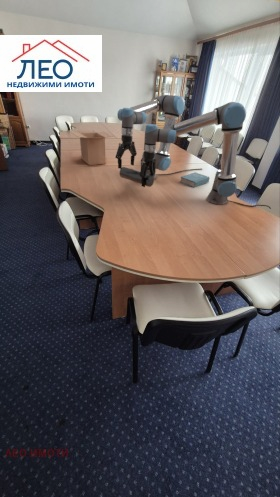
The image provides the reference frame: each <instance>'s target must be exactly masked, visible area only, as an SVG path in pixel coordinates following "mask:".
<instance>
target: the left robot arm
mask: <svg viewBox="0 0 280 497" xmlns="http://www.w3.org/2000/svg"><path fill="white" fill-rule="evenodd" d="M185 107H186V105H185V99H184V98H183V97H182V96H179V95H172V94H162V95H159V96H156V97H153V98H151V99H150V100H149V101H146V102H143V103H140V104H137V105H134V106H131V107H123V108H120V109H118V111H117V119H118V120H119V121H121V143H120V142H119V143H118V147H117V151H116V153H115V159H117V168H118V169H119V170H120V169H122V167H123V165H122V164H123V163H122V162H123V158H122V157H123V156H124V154H125V152H126V151H128V152H129V153H130V165H131V166H135V158H136V157H137V154H138V153H137V149H136V145H135V141H133V132H134V129H133V128H134V125H144V124H145V123H146V122H147V119H148V118H147V115H148V114H153V113H154V114H155V113H164V117H165V118H164V124H163V128H164V127H166V126H170V125H174V124H176V123H177V120H178V119H179V118H180V115H183V113H184V111H185ZM171 144H172V143H170V144H169V143H162V142H159V146H158V150H155V151H154V152H155V158H153V159H156V170H158V171H161V172H165V171H166V170H168V169H169V168H170V166H171V163H172V160H171V159H172V158H171V157H170V148H171ZM141 159H142V162H144V159H145V158H144V151H143V152H142V157H141ZM145 166H146V165H145ZM194 170H195V171H200V170H201V168H192V169H184V170H179V171H175V172H172V173H158V174H157V173H155V175H153V176H154V180H156V178H157V176H169V175H174V174H177V173H182V172H187V171H194ZM146 174H150V169H149V168H148V169H147V172H146Z"/></svg>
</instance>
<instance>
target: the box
mask: <svg viewBox="0 0 280 497" xmlns="http://www.w3.org/2000/svg"><path fill="white" fill-rule="evenodd" d="M70 133H71V134H72V135H74V136H75V137H77V138H79V144H80V153H81V160H83V162H85V163H86V165H87V166H95V165H97V166H98V165H106V163H107V162H106V158H107V157H106V138H113V137H114V136H113V135H111V134H109V133H108V132H105V131H98V132H96V131H95V130H92V129H91V130H77V132H76V131H70Z"/></svg>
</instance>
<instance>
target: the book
mask: <svg viewBox="0 0 280 497" xmlns="http://www.w3.org/2000/svg"><path fill="white" fill-rule="evenodd" d="M208 182H210V176H208V175H205V174H201V173H198V172H197V171H196V172H195V171H194V172H191V173H189V174H186V175H182V176H180V181H179V183H180V184H183V185H186V186H188V187H191V188H196V187H198V186H201V185H203V184H207V183H208Z"/></svg>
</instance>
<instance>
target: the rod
mask: <svg viewBox="0 0 280 497" xmlns="http://www.w3.org/2000/svg"><path fill="white" fill-rule="evenodd" d="M119 176H120V178H122V179H125V180H127V181H130V182H131V181H132V182H133V183H137V184H140V185H142V182H141V181H142V177H140V171H139V170H136V169H133V168H130V167H126V166H122V169H120V168H119ZM145 178H146V181H145V187H147V188H151V187H152V186H153V185H154V183H155V179H154V176H152V175H149V174H146V175H145Z"/></svg>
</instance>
